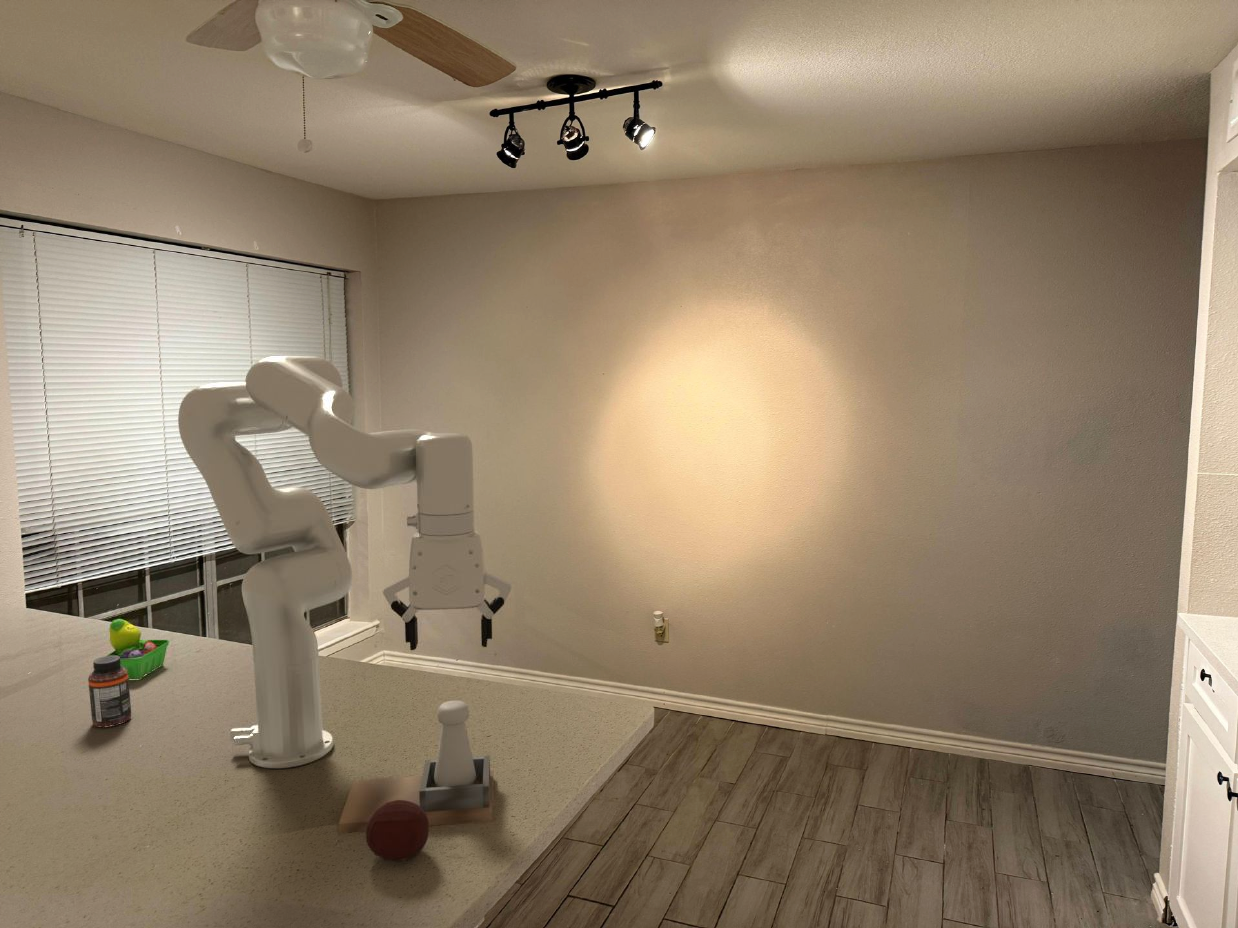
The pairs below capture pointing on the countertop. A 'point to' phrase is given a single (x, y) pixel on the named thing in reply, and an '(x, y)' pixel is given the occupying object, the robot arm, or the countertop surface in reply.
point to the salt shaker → (454, 747)
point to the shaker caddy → (422, 797)
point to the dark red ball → (397, 830)
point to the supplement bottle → (109, 692)
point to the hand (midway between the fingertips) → (449, 645)
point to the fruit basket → (135, 649)
